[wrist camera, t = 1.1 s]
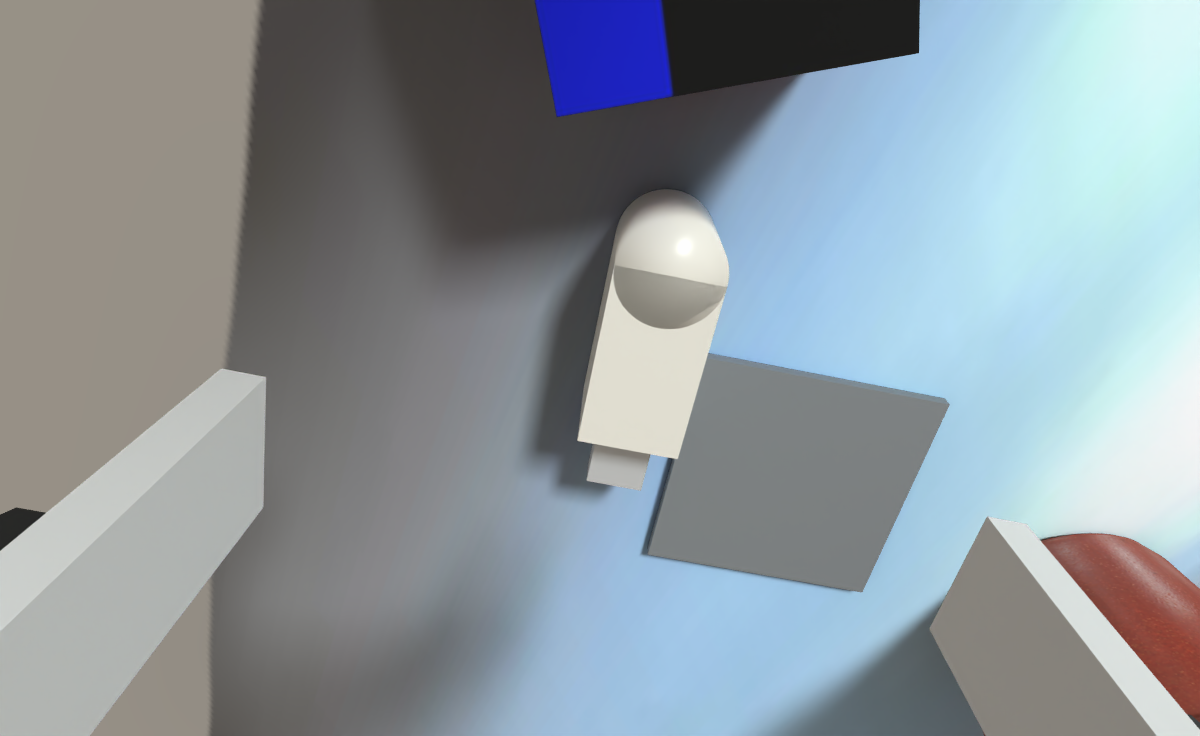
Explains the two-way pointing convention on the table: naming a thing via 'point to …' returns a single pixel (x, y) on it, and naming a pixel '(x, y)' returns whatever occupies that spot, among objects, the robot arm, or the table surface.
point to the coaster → (792, 473)
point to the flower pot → (1141, 606)
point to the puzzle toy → (708, 44)
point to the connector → (651, 335)
